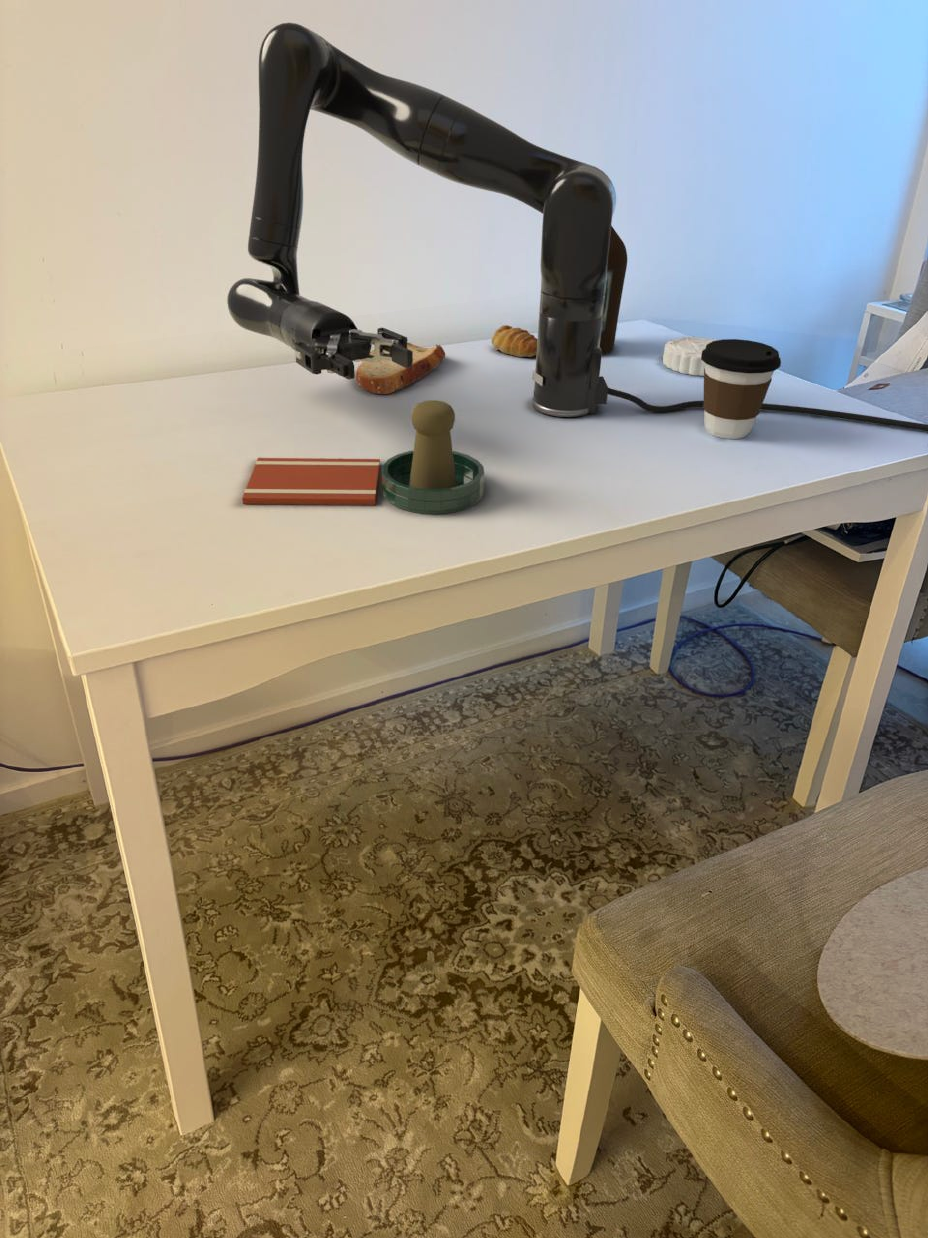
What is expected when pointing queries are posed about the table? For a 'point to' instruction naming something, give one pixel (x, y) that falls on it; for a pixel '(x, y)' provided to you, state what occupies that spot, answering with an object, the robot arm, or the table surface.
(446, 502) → the dish
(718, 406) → the coffee cup
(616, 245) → the olive oil
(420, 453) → the cork
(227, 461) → the table surface
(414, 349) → the slice of bread
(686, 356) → the mooncake
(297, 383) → the table surface
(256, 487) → the towel
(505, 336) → the pastry
